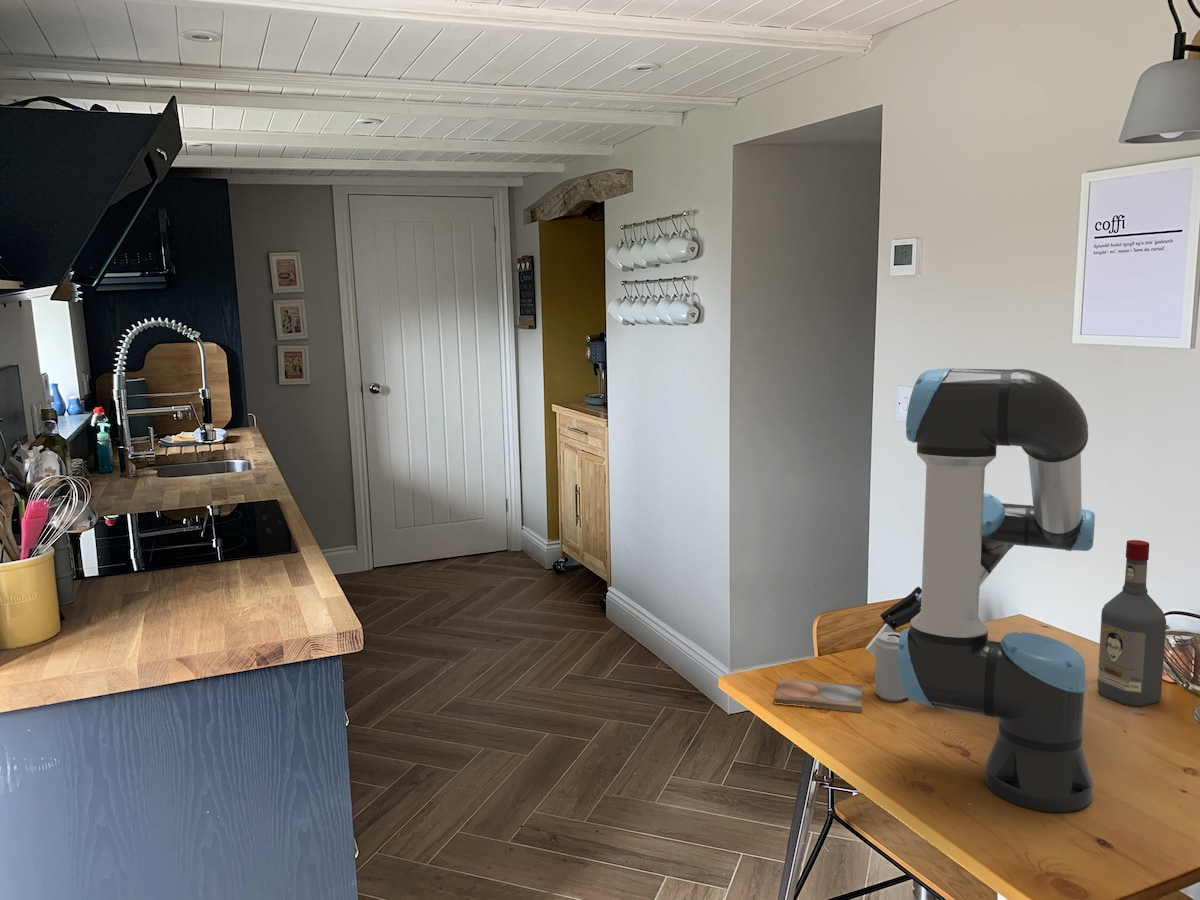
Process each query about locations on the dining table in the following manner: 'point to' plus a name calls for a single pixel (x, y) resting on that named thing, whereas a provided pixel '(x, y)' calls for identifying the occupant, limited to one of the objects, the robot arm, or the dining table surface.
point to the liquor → (1132, 637)
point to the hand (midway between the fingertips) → (891, 665)
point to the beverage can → (888, 667)
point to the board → (820, 694)
